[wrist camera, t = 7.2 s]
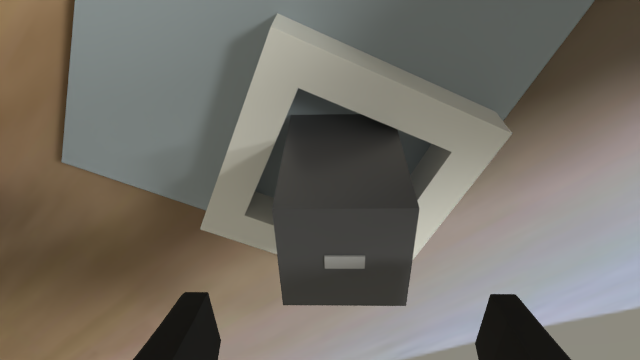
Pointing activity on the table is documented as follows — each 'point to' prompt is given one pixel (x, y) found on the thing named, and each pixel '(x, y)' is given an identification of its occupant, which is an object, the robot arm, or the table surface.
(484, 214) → the table surface
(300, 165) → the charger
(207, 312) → the robot arm
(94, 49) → the outlet plate
